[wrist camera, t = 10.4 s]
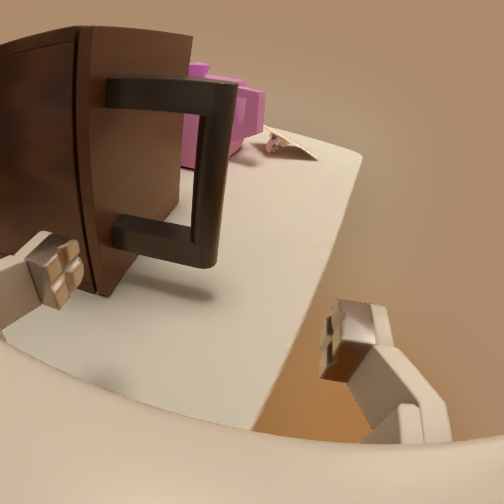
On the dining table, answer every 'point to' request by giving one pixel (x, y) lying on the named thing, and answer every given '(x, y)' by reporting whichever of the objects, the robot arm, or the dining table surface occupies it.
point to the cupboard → (41, 143)
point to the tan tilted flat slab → (279, 141)
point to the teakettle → (245, 118)
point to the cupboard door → (147, 149)
